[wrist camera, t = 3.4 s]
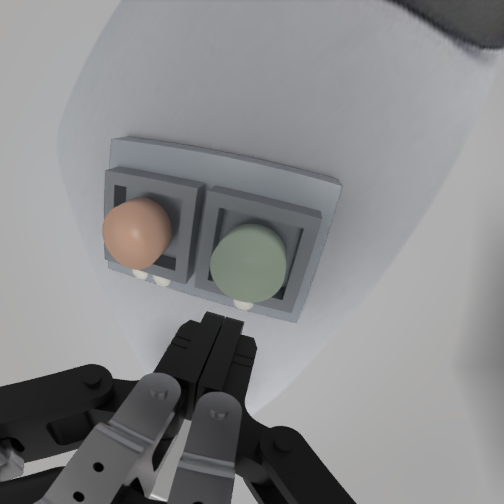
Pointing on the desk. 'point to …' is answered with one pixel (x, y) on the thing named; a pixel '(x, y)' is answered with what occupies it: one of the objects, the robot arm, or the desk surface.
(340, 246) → the desk surface
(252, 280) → the button one
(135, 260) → the button two
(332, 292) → the desk surface
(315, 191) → the two-button control panel
